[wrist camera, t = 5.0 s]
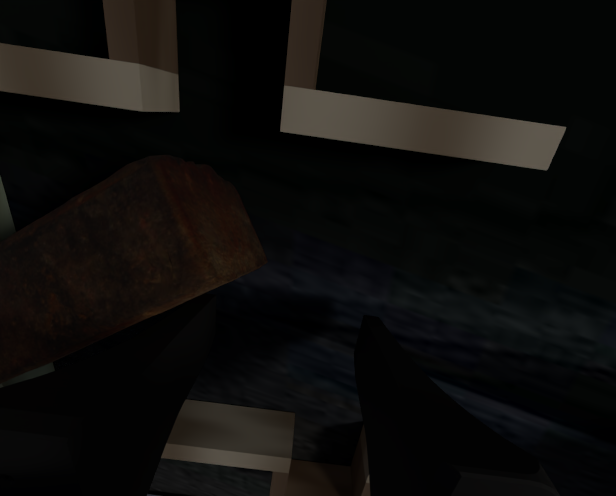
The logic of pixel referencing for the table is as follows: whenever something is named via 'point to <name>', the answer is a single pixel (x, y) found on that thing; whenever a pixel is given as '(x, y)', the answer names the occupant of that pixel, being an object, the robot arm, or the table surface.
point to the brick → (119, 258)
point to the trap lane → (295, 119)
